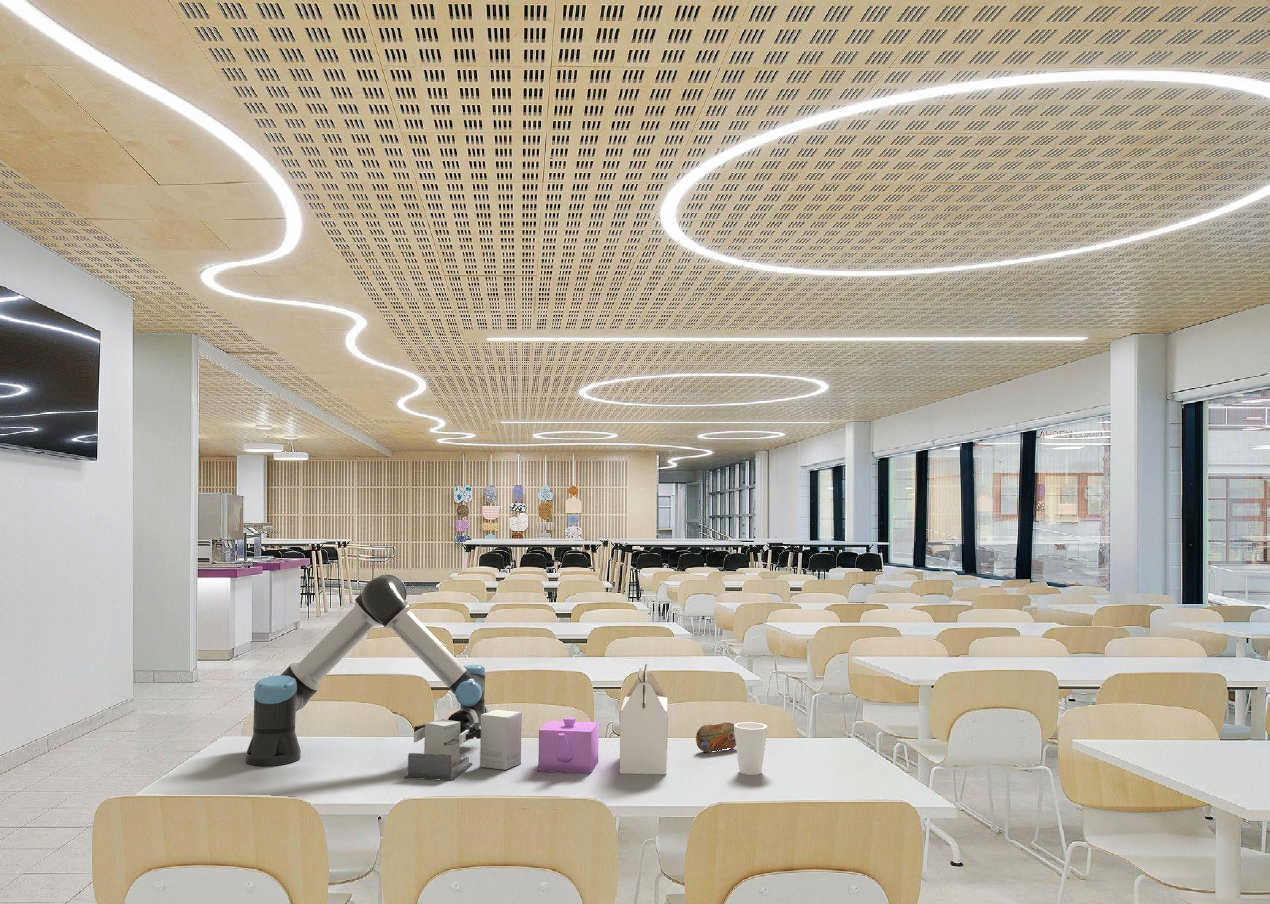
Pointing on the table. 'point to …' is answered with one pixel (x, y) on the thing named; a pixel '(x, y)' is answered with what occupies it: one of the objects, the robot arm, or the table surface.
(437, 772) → the pusher lane
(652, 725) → the gable box
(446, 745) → the supplement box
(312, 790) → the table surface
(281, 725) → the robot arm
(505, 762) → the supplement box
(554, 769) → the teapot
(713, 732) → the tin
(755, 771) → the foam cup
